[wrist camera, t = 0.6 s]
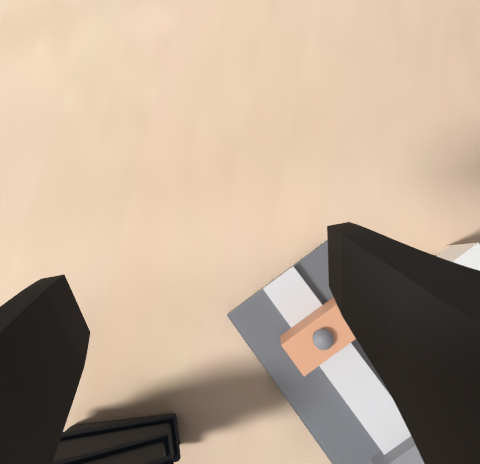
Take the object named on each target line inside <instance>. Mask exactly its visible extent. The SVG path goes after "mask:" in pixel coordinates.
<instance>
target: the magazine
mask: <svg viewBox="0 0 480 464" xmlns="http://www.w3.org/2000/svg"><path fill="white" fill-rule="evenodd" d="M179 444H180V442H179V434H178V425H177V417H176V415H175V414H166V415H157V416H149V417H140V418H131V419H123V420H114V421H106V422H97V423H89V424H80V425H72V426H71V427H70V428H68V429H67V430H66V431H65V432H62V435H61V438H60V441H59V444H58V447H57V450H56V453H55V457H54V460H53V463H52V464H174V463H173V462H177V461H179V459H180V449H179Z"/></svg>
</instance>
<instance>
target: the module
mask: <svg viewBox="0 0 480 464" xmlns="http://www.w3.org/2000/svg"><path fill="white" fill-rule="evenodd" d="M439 253H440V254H438V255H437V257H440V258H443V259H445V260H448V261H451V262H454V263H457V264H460V265H463V266H466V267H469V268H472V269H476V270H479V271H480V244H479V243H469V244H458V245H448V246H446V247H445V248H443V249H442V250H441V251H439Z"/></svg>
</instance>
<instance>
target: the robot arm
mask: <svg viewBox="0 0 480 464" xmlns="http://www.w3.org/2000/svg"><path fill="white" fill-rule="evenodd" d="M327 231H328V274H329V288H330V290H331V292H332V295H333V297H334V299H335V302H336V304H337V306H338V308H339V310H340V313H341V315H342V317H343V318H344V320H345V322H346V323H347V325H348V327H349V328H350V330H351V331H352V333H353V335H354V336H355V338H356V340H357V341H358V343H359V344H360V346H361V348H362V349H363V351H364V352H365V354H366V355H367V357H368V359H369V360H370V362H371V363H372V365H373V367H374V368H375V370H376V371H377V373H378V375H379V376H380V378H381V379H382V381H383V383H384V384H385V386H386V388H387V390H388V391H389V393H390V395H391V397H392V398H393V400H394V402H395V404H396V406H397V408H398V410H399V412H400V414H401V416H402V418H403V420H404V422H405V424H406V426H407V428H408V430H409V432H410V434H411V436H412V438H413V440H414V442H415V445H416V447H417V449H418V451H419V453H420V455H421V457H422V459H423V462H424V464H480V271H479V270H476V269H472V268H469V267H466V266H463V265H460V264H457V263H454V262H451V261H448V260H445V259H443V258H440V257H437V256H434V255H431V254H429V253H426V252H423V251H421V250H418V249H415V248H413V247H410V246H408V245H405V244H403V243H401V242H398V241H396V240H393V239H391V238H388V237H386V236H384V235H381V234H379V233H377V232H374V231H372V230H369V229H367V228H364V227H362V226H359V225H356V224H353V223H350V222H347V223H342V224H336V225H331V226H327ZM89 337H90V331H89V328H88V326H87V324H86V322H85V320H84V317H83V315H82V313H81V311H80V308H79V306H78V304H77V302H76V300H75V297H74V295H73V293H72V291H71V289H70V286H69V284H68V282H67V280H66V277H65V275H60V276H54V277H49V278H43V279H40V280H38V281H37V282H35V283H33V284H32V285H30V286H29V287H27V288H26V289H24V290H23V291H21V292H20V293H18V294H17V295H16V296H14V297H13V298H12V299H10V300H9V301H7V302H6V303H5V304H3V305H2V306H1V307H0V464H52V463H53V460H54V457H55V453H56V450H57V447H58V444H59V441H60V438H61V435H62V432H63V429H64V426H65V423H66V420H67V417H68V414H69V411H70V409H71V406H72V403H73V400H74V397H75V394H76V391H77V387H78V384H79V381H80V378H81V375H82V372H83V369H84V365H85V360H86V355H87V349H88V343H89Z"/></svg>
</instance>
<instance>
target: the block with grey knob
mask: <svg viewBox="0 0 480 464" xmlns="http://www.w3.org/2000/svg"><path fill="white" fill-rule="evenodd" d="M355 339H356V338H355V336H354V335H353V333H352V331H351V330H350V328H349V327H348V325H347V323H346V322H345V320H344V318H343V317H342V315H341V313H340V310H339V308H338V306H337V304H336V302H335V299H334V297H333V298H331V299H330V300H328V301H327V302H326V303H324V304H323V305H322V306H320V307H319V308H318V309H316V310H315V311H313V312H312V313H311V314H309V315H308V316H307V317H305V318H304V319H303V320H301V321H300V322H299V323H297V324H296V325H294V326H293V327H292V328H290V329H289V330H288V331H286V332H285V333H284V334H282V335H281V336H280V340H281V346H282V347H283V348H284V350H285V351H286V353H287V354H288V355H289V357H290V358H291V360H292V361H293V362H294V364H295V365H296V366H297V368H298V369H299V371H300V372H301V373H302V375H303V376H306V375H307V374H308V373H310V372H311V371H313V370H314V369H315V368H317V367H318V366H319V365H321V364H322V363H323V362H325V361H326V360H328V359H329V358H330V357H332V356H333V355H334V354H336V353H337V352H339V351H340V350H341V349H343V348H344V347H345V346H347V345H348V344H350V343H351V342H352V341H354V340H355Z"/></svg>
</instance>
